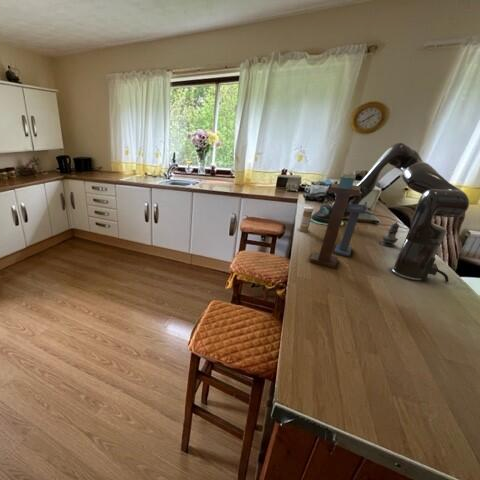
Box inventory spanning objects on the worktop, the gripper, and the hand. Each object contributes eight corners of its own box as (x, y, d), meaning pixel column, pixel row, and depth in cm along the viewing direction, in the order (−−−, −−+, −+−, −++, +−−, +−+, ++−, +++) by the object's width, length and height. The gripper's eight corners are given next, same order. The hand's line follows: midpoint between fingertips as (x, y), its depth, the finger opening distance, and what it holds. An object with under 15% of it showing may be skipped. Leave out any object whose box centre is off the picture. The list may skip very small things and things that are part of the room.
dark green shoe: (353, 224, 151) (321, 225, 150) (331, 229, 169) (302, 230, 168) (350, 199, 152) (318, 201, 151) (328, 207, 171) (299, 208, 170)
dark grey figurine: (382, 245, 125) (391, 222, 120) (378, 241, 130) (386, 219, 125) (397, 247, 123) (407, 224, 118) (392, 243, 128) (401, 220, 123)
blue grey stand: (350, 249, 120) (367, 201, 111) (349, 257, 113) (366, 206, 104) (336, 246, 124) (350, 199, 115) (333, 253, 116) (348, 204, 107)
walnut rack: (337, 260, 110) (360, 186, 98) (334, 269, 103) (359, 190, 90) (313, 254, 115) (333, 183, 103) (309, 262, 108) (330, 186, 95)
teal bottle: (354, 182, 105) (357, 172, 104) (351, 189, 91) (354, 178, 90) (342, 181, 108) (345, 171, 106) (338, 188, 94) (341, 177, 92)
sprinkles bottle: (309, 231, 143) (315, 207, 137) (305, 232, 140) (311, 209, 135) (301, 228, 146) (307, 205, 141) (297, 230, 144) (302, 207, 139)
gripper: (330, 188, 127) (331, 174, 113) (365, 192, 118) (371, 178, 105) (325, 202, 126) (326, 190, 113) (360, 207, 118) (365, 195, 105)
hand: (347, 184), depth 109 cm, fingers open, 8 cm apart
